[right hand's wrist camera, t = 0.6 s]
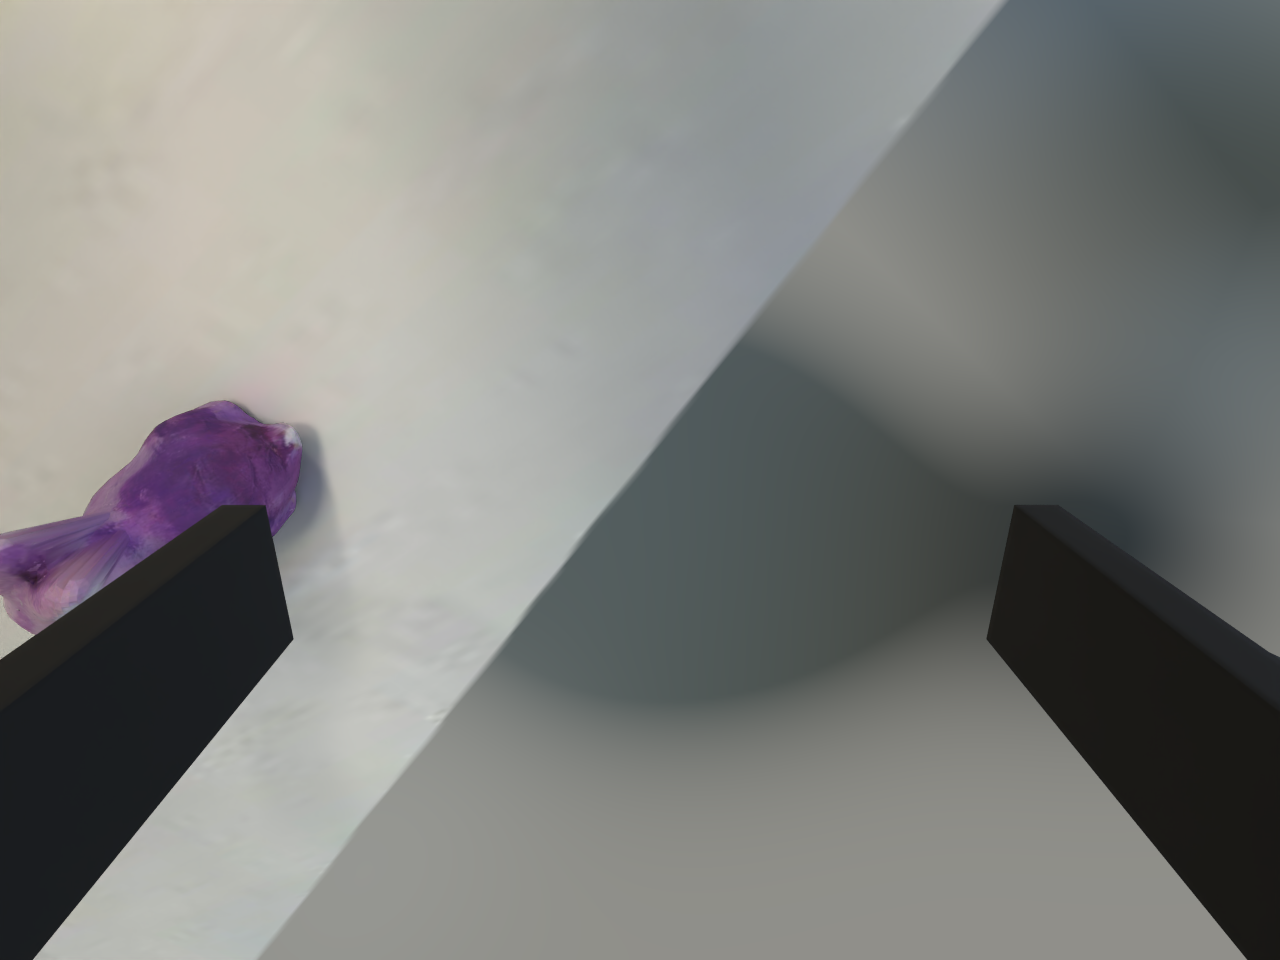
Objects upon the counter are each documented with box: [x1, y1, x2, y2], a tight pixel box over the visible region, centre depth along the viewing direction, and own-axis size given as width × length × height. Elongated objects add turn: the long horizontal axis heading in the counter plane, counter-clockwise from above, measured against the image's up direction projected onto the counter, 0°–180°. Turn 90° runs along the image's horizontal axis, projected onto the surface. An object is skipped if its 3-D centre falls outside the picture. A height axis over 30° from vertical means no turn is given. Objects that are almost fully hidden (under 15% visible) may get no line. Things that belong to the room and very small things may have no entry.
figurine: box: [0, 401, 302, 635], centre depth 35 cm, size 9×10×15 cm
